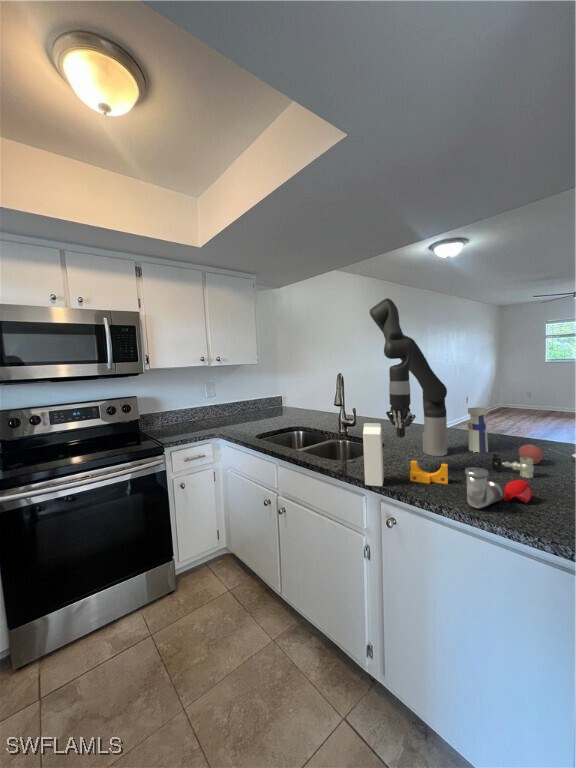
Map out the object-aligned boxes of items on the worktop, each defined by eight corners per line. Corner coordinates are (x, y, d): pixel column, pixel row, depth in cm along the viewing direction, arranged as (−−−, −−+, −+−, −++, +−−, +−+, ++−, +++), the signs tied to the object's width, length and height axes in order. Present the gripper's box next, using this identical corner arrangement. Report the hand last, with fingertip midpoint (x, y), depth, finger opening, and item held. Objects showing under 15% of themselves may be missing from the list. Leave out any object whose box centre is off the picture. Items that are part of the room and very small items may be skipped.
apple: (515, 459, 128) (515, 440, 127) (537, 460, 125) (537, 441, 125) (522, 466, 121) (522, 445, 120) (545, 467, 118) (546, 446, 118)
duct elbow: (481, 514, 88) (480, 476, 87) (461, 506, 93) (460, 470, 92) (503, 503, 93) (503, 467, 92) (483, 496, 98) (483, 462, 97)
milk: (367, 479, 118) (364, 421, 116) (383, 480, 115) (381, 421, 114) (365, 485, 112) (362, 424, 110) (382, 486, 110) (380, 425, 108)
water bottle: (474, 454, 138) (473, 398, 136) (464, 448, 146) (463, 395, 144) (493, 453, 137) (492, 396, 136) (481, 447, 146) (481, 394, 144)
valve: (535, 475, 112) (495, 468, 121) (535, 457, 112) (495, 451, 120) (532, 480, 107) (491, 473, 116) (532, 462, 107) (491, 456, 115)
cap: (523, 484, 98) (504, 474, 99) (537, 485, 92) (518, 474, 93) (514, 507, 96) (496, 497, 97) (529, 510, 90) (509, 499, 91)
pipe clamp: (410, 481, 113) (409, 464, 113) (412, 477, 117) (411, 460, 117) (447, 486, 107) (446, 468, 107) (448, 481, 111) (447, 464, 111)
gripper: (379, 392, 123) (381, 435, 124) (406, 394, 111) (407, 442, 113) (393, 390, 126) (394, 432, 128) (421, 392, 115) (422, 439, 116)
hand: (400, 437), depth 120 cm, fingers closed
